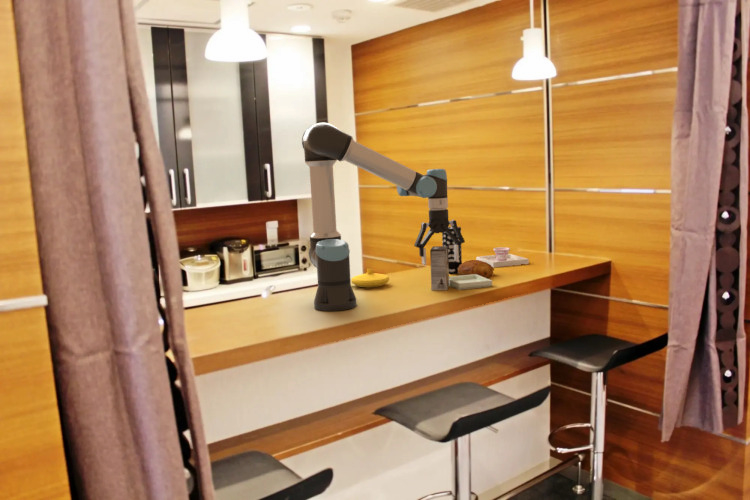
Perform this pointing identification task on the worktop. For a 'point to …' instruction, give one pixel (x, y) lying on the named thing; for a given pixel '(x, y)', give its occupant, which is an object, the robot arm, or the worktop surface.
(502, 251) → the teacup
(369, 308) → the worktop surface
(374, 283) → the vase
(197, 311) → the worktop surface
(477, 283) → the tray
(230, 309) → the worktop surface
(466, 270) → the croissant
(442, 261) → the coffee box
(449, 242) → the spotted tube
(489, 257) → the saucer
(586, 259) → the worktop surface
